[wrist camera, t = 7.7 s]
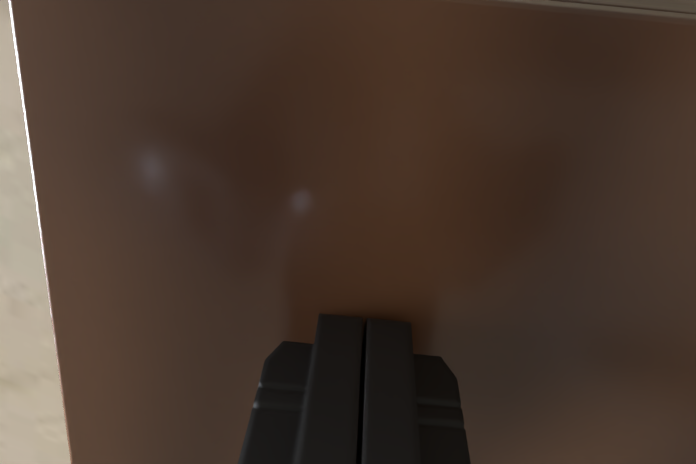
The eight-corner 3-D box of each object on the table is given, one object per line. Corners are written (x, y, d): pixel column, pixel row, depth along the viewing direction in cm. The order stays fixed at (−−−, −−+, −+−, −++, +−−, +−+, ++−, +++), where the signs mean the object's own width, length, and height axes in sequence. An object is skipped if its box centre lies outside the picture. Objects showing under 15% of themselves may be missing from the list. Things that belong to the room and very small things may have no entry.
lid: (96, 538, 14) (83, 568, 13) (25, -52, 9) (-2, -48, 8) (759, 590, 14) (776, 621, 14) (1063, 49, 9) (1115, 59, 8)
